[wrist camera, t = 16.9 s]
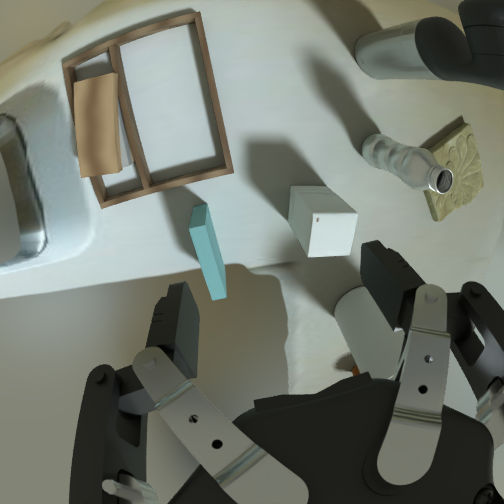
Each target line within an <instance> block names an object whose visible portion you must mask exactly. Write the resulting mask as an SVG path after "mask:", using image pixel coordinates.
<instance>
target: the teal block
mask: <svg viewBox="0 0 504 504" xmlns="http://www.w3.org/2000/svg"><path fill="white" fill-rule="evenodd" d="M189 231H190V235H191V238H192V241H193V244H194V247H195V250H196V253H197V256H198V259H199V262H200V265H201V268H202V271H203V274H204V277H205V280H206V283H207V286H208V288H209V292H210V295H211V297H212V300H216V299H221V298H226V280H225V267H224V263H223V260H222V256H221V253H220V249H219V245H218V242H217V238H216V234H215V231H214V227H213V223H212V219H211V216H210V212H209V208H208V204H203V205H199V206H195V207H193V211H192V216H191V220H190V225H189Z"/></svg>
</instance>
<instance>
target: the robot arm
mask: <svg viewBox="0 0 504 504" xmlns="http://www.w3.org/2000/svg"><path fill="white" fill-rule="evenodd" d="M458 10H459V15H460V19H461V22H462V25H463V28H464V32H465V35H466V36H465V35H464V34H463V32H462V31H461V30H460V29H459V28H458V27H457V26H456V25H455V24H454V23H452V22H451V21H449V20H447V19H445V18H442V17H429V18H425V19H420V20H416V21H411V22H408V23H404V24H400V25H396V26H393V27H389V28H386V29H383V30H379V31H376V32H373V33H370V34H367V35H364V36H362V37H361V38H359V39H358V41H357V42H356V45H355V50H354V51H355V58H356V61H357V63H358V65H359V66H360V68H361V69H362V70H363V71H364V72H365V73H366V74H367V75H369V76H370V77H372V78H375V79H382V80H383V79H427V80H446V81H461V82H469V83H476V84H481V85H485V86H489V87H493V88H497V89H501V90H504V0H464V1H462V2H461V3H460V4H459V6H458ZM360 274H361V279H362V282H363V284H364V285H365V287H366V288H367V290H368V291H369V293H370V295H371V296H372V298H373V299H374V301H375V302H376V304H377V306H378V307H379V309H380V310H381V312H382V314H383V315H384V317H385V319H386V320H387V322H388V323H389V325H390V327H391V328H392V330H393V332H396V331H399V330H402V329H403V331H404V333H405V334H404V337H403V341H402V346H401V350H400V354H399V358H398V362H397V366H396V370H395V373H394V376H393V379H392V380H390V379H384V378H371V376H370V373H369V371H367V372H364V373H361V374H358V375H355V376H352V377H349V378H346V379H342V380H340V381H339V382H337V383H335V384H333V385H331V386H330V387H328V388H326V389H324V390H322V391H320V392H318V393H316V394H304V395H278V396H273V397H268V398H262V399H257V400H254V406H255V408H252V409H250V410H248V411H247V412H245V413H243V414H241V415H240V416H238V417H237V418H236V419H235V420H234V421H233V422H230V421H229V420H228V419H227V418H226V417H225V416H224V415H223V414H222V413H221V412H220V411H219V410H218V409H217V408H216V407H215V406H214V405H213V404H212V403H211V402H210V401H209V400H208V399H207V398H206V397H205V396H204V395H203V394H202V393H201V392H200V391H199V390H198V389H197V388H196V386H195V385H194V384H193V383H192V382H191V381H188V379H190V378H197V361H198V339H199V322H200V317H199V311H198V307H197V305H196V302H195V300H194V298H193V295H192V293H191V290H190V288H189V286H188V284H187V282H186V281H185V282H180V283H175V284H170V285H169V288H168V293H167V296H166V297H161V299H160V300H159V301H158V303H157V304H156V306H155V309H154V313H153V317H152V323H151V325H150V330H149V334H148V338H147V343H146V347H145V349H143V350H141V351H140V352H139V353H138V354H137V355H136V356H135V358H134V360H133V363H132V365H130V366H127V367H124V368H122V369H119V370H116V371H115V370H114V369H113V368H112V367H111V366H110V365H106V364H103V365H99V366H97V367H96V368H94V369H93V370H92V371H91V372H90V374H89V376H88V378H87V382H86V387H85V390H84V395H83V400H82V404H81V409H80V414H79V419H78V425H77V430H76V437H75V443H74V450H73V458H72V467H71V477H70V492H69V504H160V503H159V501H158V496H157V493H156V491H155V489H154V488H153V487H152V486H151V485H150V484H148V483H146V443H147V442H146V441H147V418H148V412H151V411H154V410H158V411H159V413H160V414H161V416H162V417H163V418H164V420H165V421H166V423H167V424H168V425H169V426H170V428H171V429H172V430H173V432H174V433H175V434H176V435H177V437H178V438H179V439H180V441H181V442H182V443H183V444H184V445H185V447H186V448H187V449H188V450H189V451H190V453H191V454H192V455H193V456H194V457H195V458H196V459H197V461H198V462H199V463H200V465H199V466H198V467H197V468H196V470H195V471H194V472H193V474H192V475H191V476H190V477H189V479H188V480H187V481H186V482H185V483H184V485H183V486H182V487H181V488H180V490H179V491H178V492H177V493H176V494H175V495H174V497H173V498H172V499H171V500H170V501H169V502H168V504H504V499H503V498H502V497H501V496H500V494H499V493H498V491H497V490H496V488H495V486H494V482H493V456H494V450H495V449H496V448H498V447H499V446H500V445H502V444H503V443H504V310H503V309H502V308H501V306H500V305H499V304H498V303H497V301H496V300H495V299H494V298H493V297H492V295H491V294H490V293H489V292H488V291H487V289H486V288H485V287H484V286H483V285H481V284H479V283H477V282H473V281H470V282H466V283H465V284H463V286H462V289H461V292H457V293H445V291H444V290H443V289H442V288H440V287H439V286H437V285H434V284H426V283H425V282H424V281H423V279H422V278H421V277H420V276H419V275H418V274H417V273H416V271H415V270H414V269H413V268H412V267H411V266H410V265H409V264H408V263H407V262H406V261H405V259H404V258H403V257H402V256H401V255H400V254H399V253H398V252H396V251H394V250H392V249H390V248H388V249H386V248H385V247H384V246H383V245H382V243H381V242H380V241H378V240H375V241H371V242H366V243H363V244H362V246H361V265H360ZM475 327H476V328H477V329H478V331H479V332H480V334H481V335H482V337H483V338H484V341H485V347H484V346H483V344H482V343H481V341H480V340H479V338H478V336H477V335H476V334H475V332H474V328H475ZM450 349H451V351H452V352H453V354H454V356H455V358H456V359H457V361H458V363H459V365H460V367H461V369H462V370H463V372H464V374H465V376H466V378H467V380H468V382H469V384H470V386H471V388H472V390H473V392H474V394H475V396H476V398H477V400H478V403H477V407H476V408H477V409H476V411H477V414H476V417H475V418H476V419H474V418H471V417H469V416H467V415H465V414H463V413H461V412H459V411H456V410H454V409H452V408H450V407H448V406H446V405H444V404H443V401H444V395H445V389H446V382H447V374H448V365H449V355H450V354H449V353H450Z"/></svg>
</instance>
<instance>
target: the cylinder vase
mask: <svg viewBox="0 0 504 504" xmlns="http://www.w3.org/2000/svg"><path fill="white" fill-rule="evenodd" d="M334 315H335V319H336V321H337V323H338V325H339V327H340V329H341V332H342V334H343V336H344V338H345V340H346V342H347V344H348V347H349V349H350V351H351V353H352V355H353V358H354V360H355V362H356V364H357V367H358V369H359V371H360V373H364V372H367V371H369V373H370V376H371V378H384V379H390V380H392V379H393V376H394V373H395V370H396V366H397V362H398V358H399V354H400V350H401V346H402V341H403V337H404V334H405V333H404V331H403V329H402V330H399V331H396V332H393V330H392V328H391V327H390V325H389V323H388V322H387V320H386V319H385V317H384V315H383V314H382V312H381V310H380V309H379V307H378V306H377V304H376V302H375V301H374V299H373V298H372V296H371V295H370V293H369V291H368V290H367V288H366V287H358V288H355V289H353V290H351V291H349V292H348V293H346V294H345V295H344V296H343V297H342V298H341V299H340V300H339V302H338V303H337V305H336V307H335V311H334Z"/></svg>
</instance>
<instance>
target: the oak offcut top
mask: <svg viewBox="0 0 504 504" xmlns="http://www.w3.org/2000/svg"><path fill="white" fill-rule="evenodd" d="M74 113H75V129H76V141H77V151H78V159H79V167H80V174H81V178H85V177H91V176H98V175H105V174H113V173H119V172H120V171H121V170H123V169H122V160H121V149H120V137H119V120H118V74H117V73H109V74H105V75H101V76H97V77H93V78H89V79H86V80H82V81H79V82H75V83H74Z"/></svg>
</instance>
